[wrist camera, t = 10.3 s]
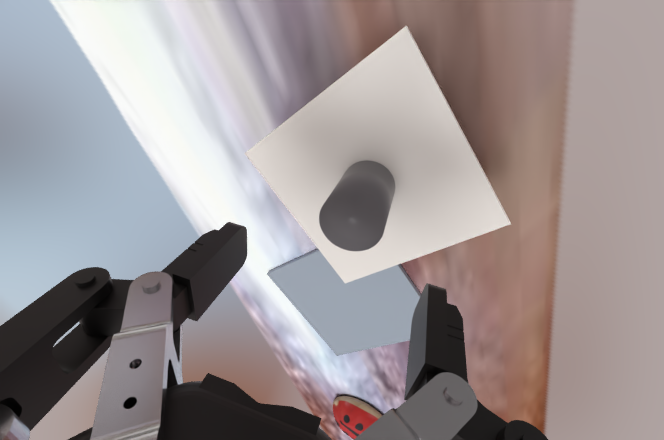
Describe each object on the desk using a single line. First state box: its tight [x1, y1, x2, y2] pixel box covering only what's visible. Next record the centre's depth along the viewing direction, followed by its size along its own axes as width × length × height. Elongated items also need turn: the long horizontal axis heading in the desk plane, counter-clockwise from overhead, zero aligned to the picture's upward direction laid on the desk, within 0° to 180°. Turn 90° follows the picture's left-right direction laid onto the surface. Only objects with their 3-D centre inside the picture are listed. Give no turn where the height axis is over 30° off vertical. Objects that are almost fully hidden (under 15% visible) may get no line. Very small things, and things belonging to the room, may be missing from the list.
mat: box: [267, 249, 421, 356], centre depth 36 cm, size 15×15×1 cm
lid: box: [245, 26, 511, 283], centre depth 19 cm, size 13×13×6 cm
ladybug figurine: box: [333, 396, 382, 439], centre depth 46 cm, size 7×10×4 cm
